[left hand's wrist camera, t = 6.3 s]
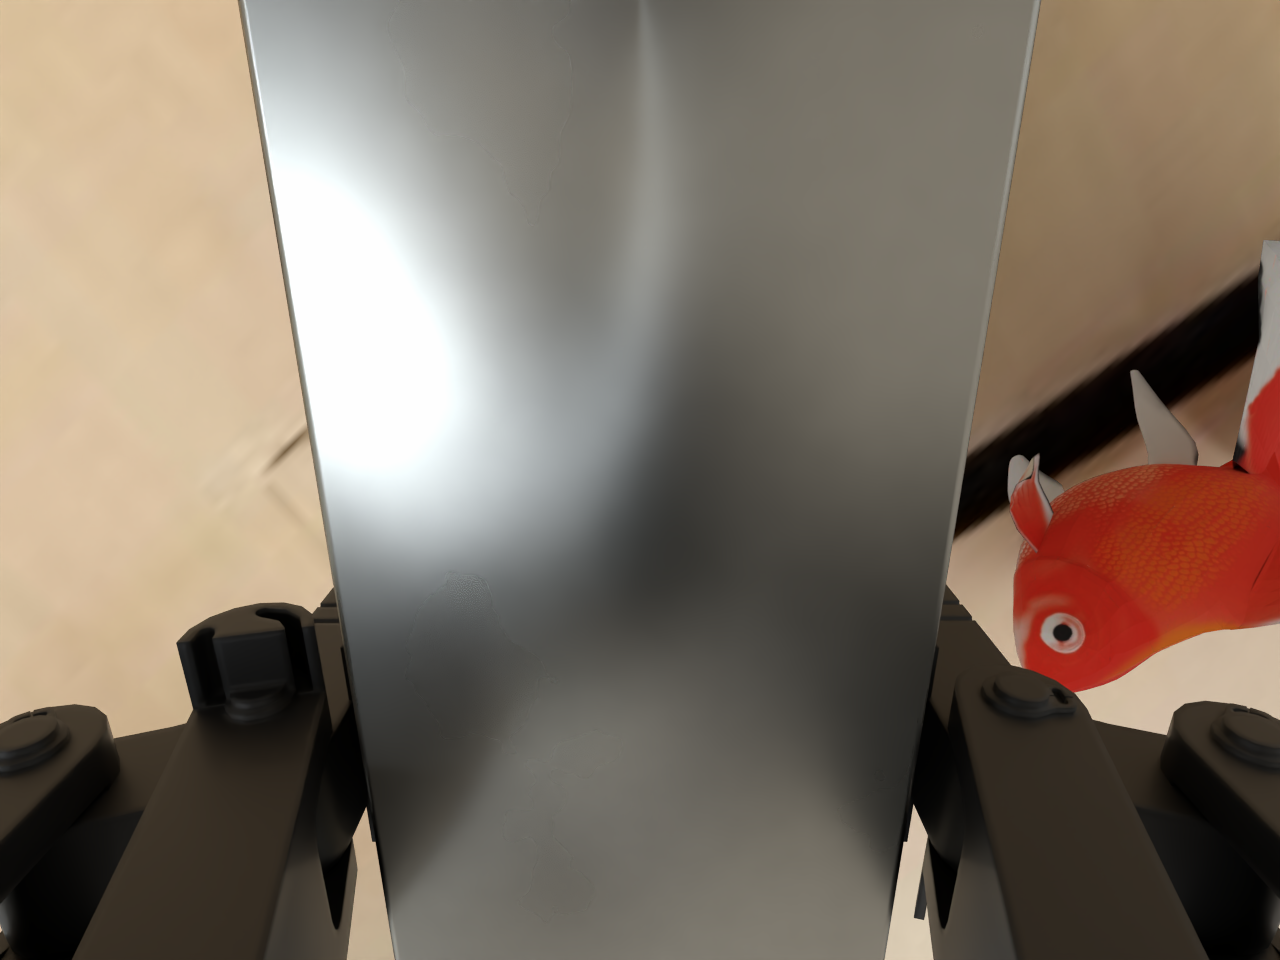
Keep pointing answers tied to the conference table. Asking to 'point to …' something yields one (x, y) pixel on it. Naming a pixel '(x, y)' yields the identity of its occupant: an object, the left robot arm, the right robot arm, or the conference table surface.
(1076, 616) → the fish
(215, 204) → the conference table surface
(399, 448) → the bar
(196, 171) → the conference table surface
